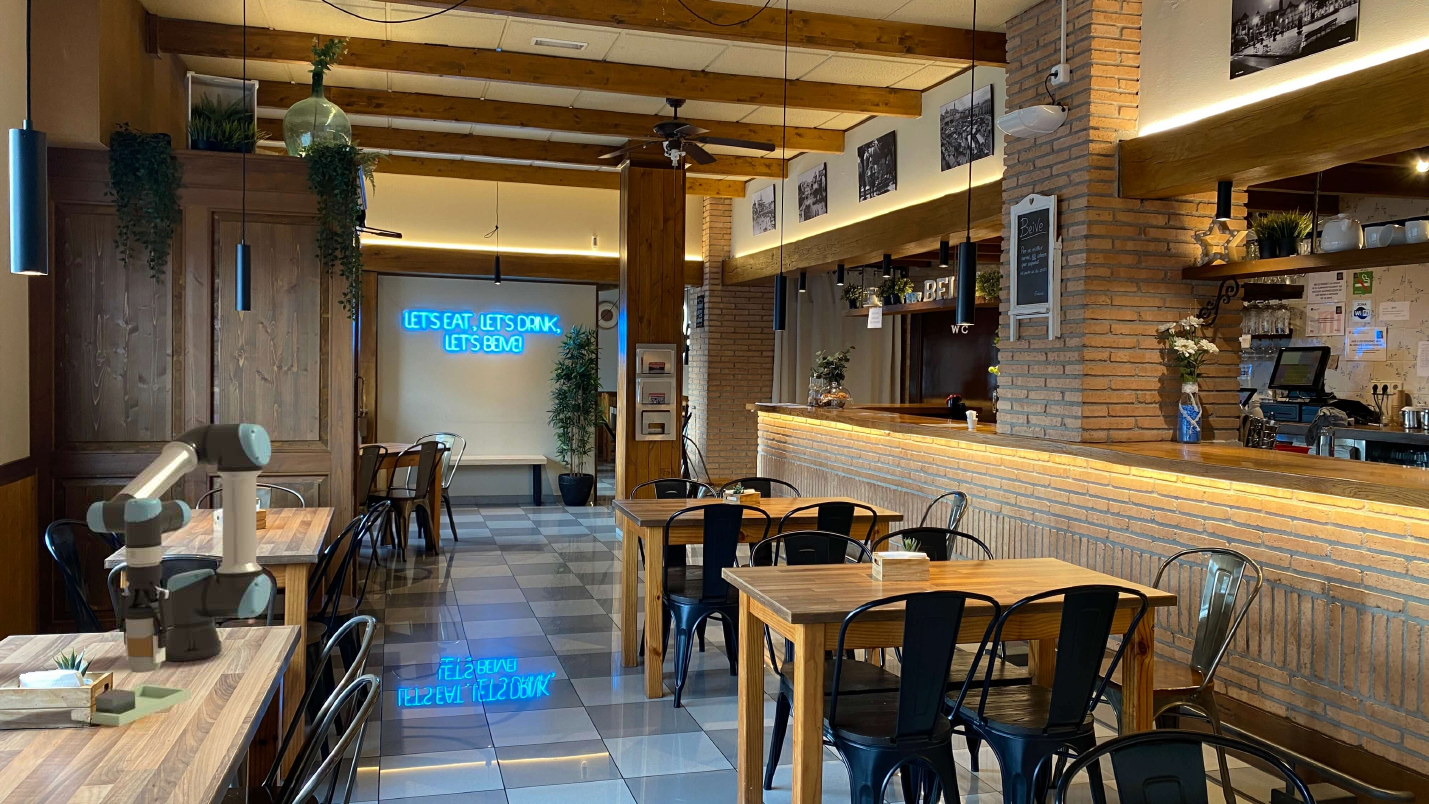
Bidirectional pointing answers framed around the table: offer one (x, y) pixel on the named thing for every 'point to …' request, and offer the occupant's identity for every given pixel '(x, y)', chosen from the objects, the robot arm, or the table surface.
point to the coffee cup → (140, 638)
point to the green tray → (144, 704)
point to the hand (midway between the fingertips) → (145, 660)
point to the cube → (115, 701)
